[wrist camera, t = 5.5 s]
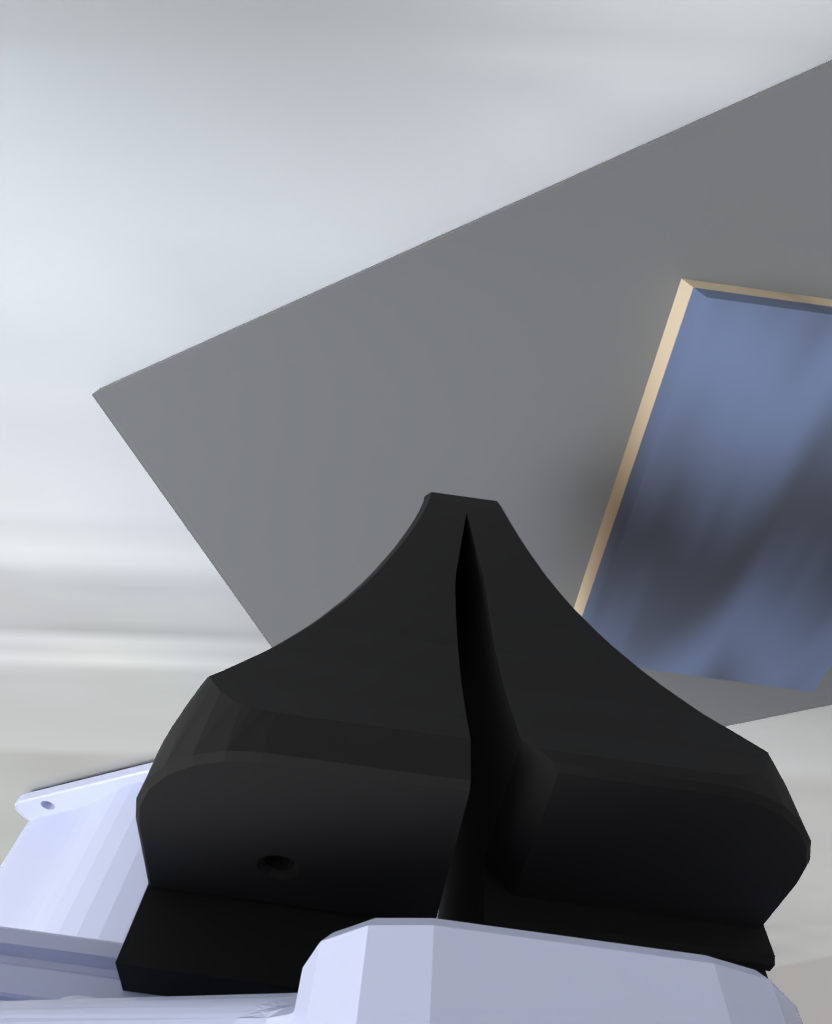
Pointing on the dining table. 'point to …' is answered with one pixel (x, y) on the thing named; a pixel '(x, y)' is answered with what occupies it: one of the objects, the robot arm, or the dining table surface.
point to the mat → (483, 371)
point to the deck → (725, 497)
